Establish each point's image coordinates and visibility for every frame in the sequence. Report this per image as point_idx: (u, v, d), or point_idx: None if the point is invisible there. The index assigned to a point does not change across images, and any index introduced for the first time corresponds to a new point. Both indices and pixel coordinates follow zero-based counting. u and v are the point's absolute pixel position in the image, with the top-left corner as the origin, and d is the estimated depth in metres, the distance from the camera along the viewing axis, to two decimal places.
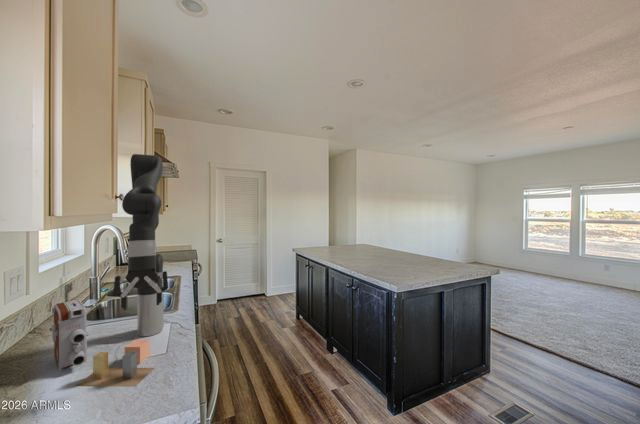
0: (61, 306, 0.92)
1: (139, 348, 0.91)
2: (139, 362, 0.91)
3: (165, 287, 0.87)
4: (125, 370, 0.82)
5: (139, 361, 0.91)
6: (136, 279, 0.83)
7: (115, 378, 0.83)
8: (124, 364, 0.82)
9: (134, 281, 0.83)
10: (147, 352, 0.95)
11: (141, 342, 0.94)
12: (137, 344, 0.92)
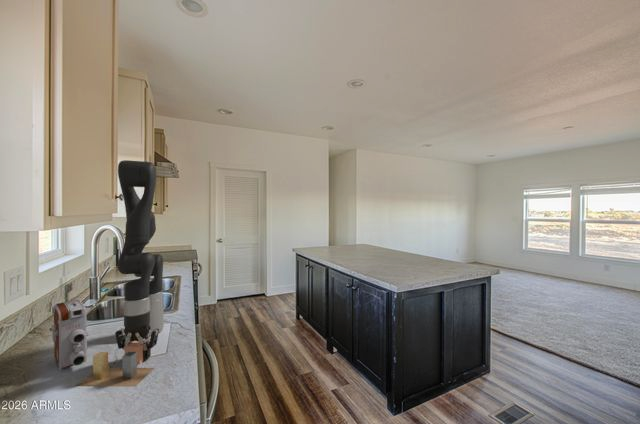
0: (61, 306, 0.92)
1: (139, 348, 0.91)
2: (139, 362, 0.91)
3: (150, 346, 0.92)
4: (125, 370, 0.82)
5: (139, 361, 0.91)
6: (129, 334, 0.91)
7: (115, 378, 0.83)
8: (124, 364, 0.82)
9: (128, 336, 0.91)
10: None
11: None
12: (137, 344, 0.92)
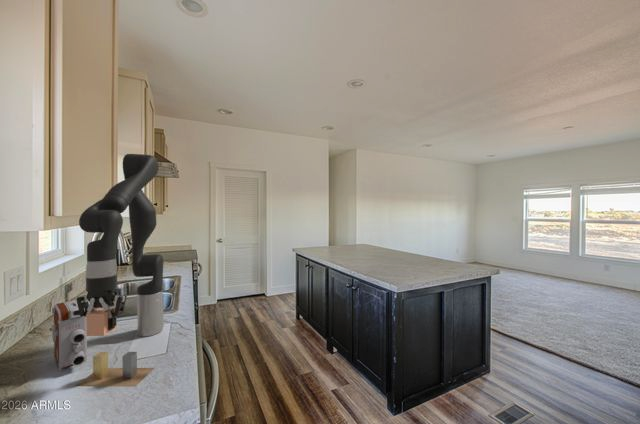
0: (61, 306, 0.92)
1: (103, 315, 0.81)
2: (103, 331, 0.81)
3: (115, 313, 0.82)
4: (125, 370, 0.82)
5: (103, 330, 0.81)
6: (92, 300, 0.82)
7: (115, 378, 0.83)
8: (124, 364, 0.82)
9: (91, 302, 0.82)
10: None
11: None
12: (101, 311, 0.83)
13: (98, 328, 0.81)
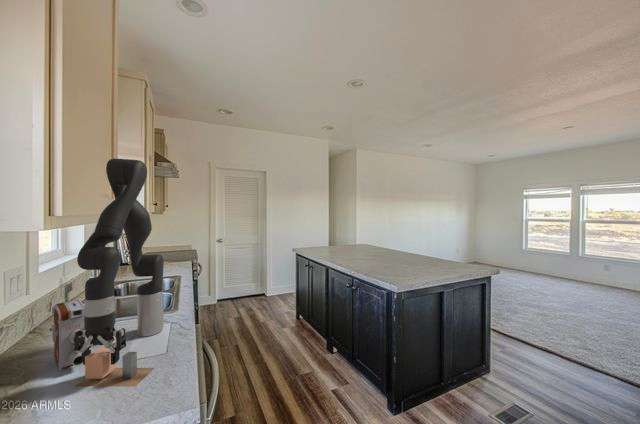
0: (61, 306, 0.92)
1: (101, 358, 0.81)
2: (101, 373, 0.81)
3: (118, 348, 0.82)
4: (125, 370, 0.82)
5: (101, 372, 0.81)
6: (90, 337, 0.82)
7: (115, 378, 0.83)
8: (124, 364, 0.82)
9: (89, 339, 0.82)
10: None
11: (105, 351, 0.84)
12: (100, 353, 0.83)
13: (97, 371, 0.81)
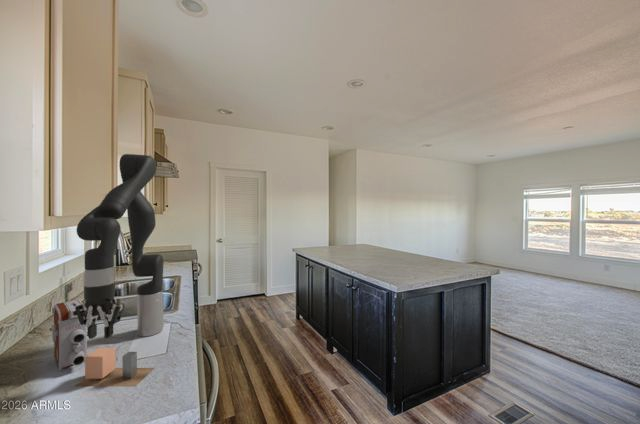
0: (61, 306, 0.92)
1: (101, 358, 0.81)
2: (101, 373, 0.81)
3: (112, 322, 0.82)
4: (125, 370, 0.82)
5: (101, 372, 0.81)
6: (90, 308, 0.82)
7: (115, 378, 0.83)
8: (124, 364, 0.82)
9: (89, 310, 0.82)
10: (112, 362, 0.85)
11: (105, 351, 0.84)
12: (100, 353, 0.83)
13: (97, 371, 0.81)
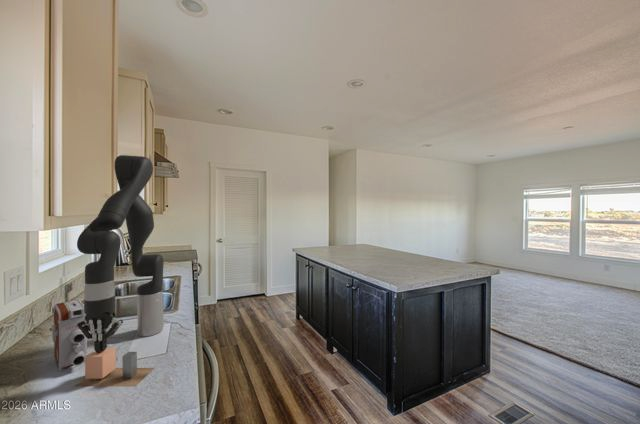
0: (61, 306, 0.92)
1: (101, 358, 0.81)
2: (101, 373, 0.81)
3: (105, 336, 0.82)
4: (125, 370, 0.82)
5: (101, 372, 0.81)
6: (91, 321, 0.82)
7: (115, 378, 0.83)
8: (124, 364, 0.82)
9: (91, 324, 0.82)
10: (112, 362, 0.85)
11: (105, 351, 0.84)
12: (100, 353, 0.83)
13: (97, 371, 0.81)
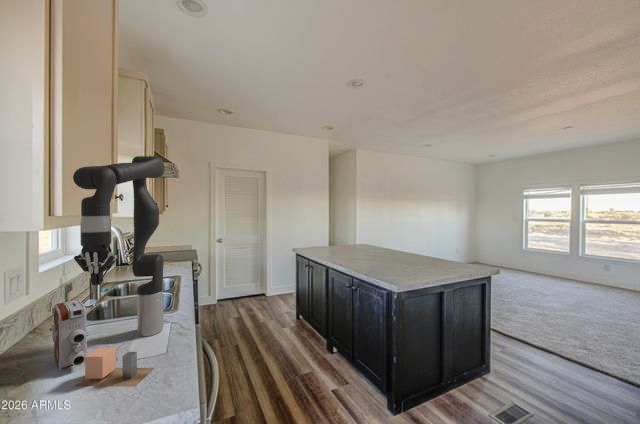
0: (61, 306, 0.92)
1: (101, 358, 0.81)
2: (101, 373, 0.81)
3: (101, 269, 0.85)
4: (125, 370, 0.82)
5: (101, 372, 0.81)
6: (87, 254, 0.84)
7: (115, 378, 0.83)
8: (124, 364, 0.82)
9: (87, 256, 0.84)
10: (112, 362, 0.85)
11: (105, 351, 0.84)
12: (100, 353, 0.83)
13: (97, 371, 0.81)
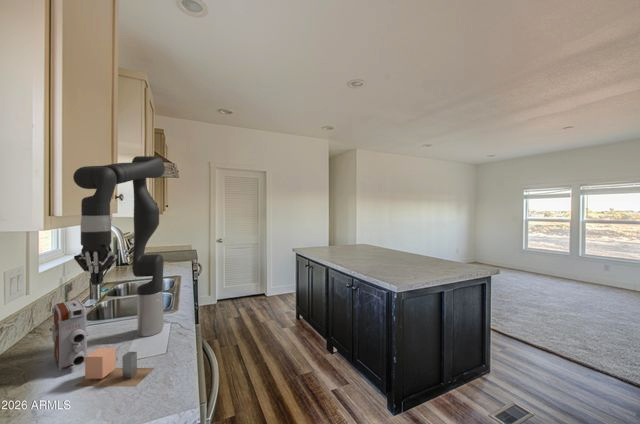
0: (61, 306, 0.92)
1: (101, 358, 0.81)
2: (101, 373, 0.81)
3: (101, 268, 0.85)
4: (125, 370, 0.82)
5: (101, 372, 0.81)
6: (87, 254, 0.84)
7: (115, 378, 0.83)
8: (124, 364, 0.82)
9: (87, 256, 0.84)
10: (112, 362, 0.85)
11: (105, 351, 0.84)
12: (100, 353, 0.83)
13: (97, 371, 0.81)
